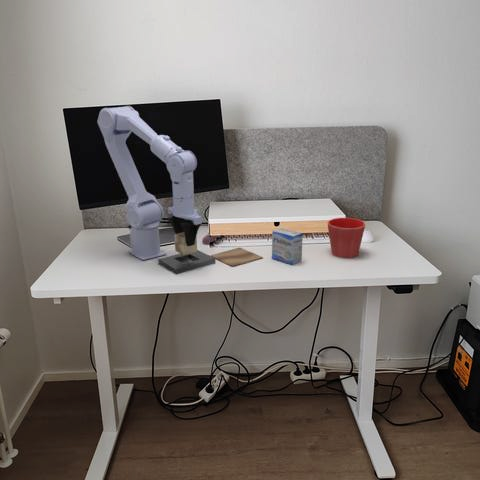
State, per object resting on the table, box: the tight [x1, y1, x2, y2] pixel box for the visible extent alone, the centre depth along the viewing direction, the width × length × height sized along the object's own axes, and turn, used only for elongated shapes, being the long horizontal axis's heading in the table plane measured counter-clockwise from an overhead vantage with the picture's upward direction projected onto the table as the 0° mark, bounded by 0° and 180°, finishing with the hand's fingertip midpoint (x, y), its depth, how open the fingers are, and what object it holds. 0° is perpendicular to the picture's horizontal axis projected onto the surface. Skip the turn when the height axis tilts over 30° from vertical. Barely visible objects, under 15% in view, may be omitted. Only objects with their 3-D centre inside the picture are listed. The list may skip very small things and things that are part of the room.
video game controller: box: [201, 233, 221, 245], centre depth 165 cm, size 10×5×7 cm, turn 169°
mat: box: [210, 247, 264, 268], centre depth 150 cm, size 11×11×1 cm
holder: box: [157, 249, 217, 275], centre depth 146 cm, size 10×13×2 cm
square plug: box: [174, 232, 198, 255], centre depth 144 cm, size 4×4×5 cm
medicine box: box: [271, 228, 304, 266], centre depth 146 cm, size 8×4×9 cm, turn 47°
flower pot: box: [327, 217, 366, 259], centre depth 150 cm, size 11×11×10 cm
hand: (185, 243), depth 144 cm, fingers closed on square plug, 4 cm apart
